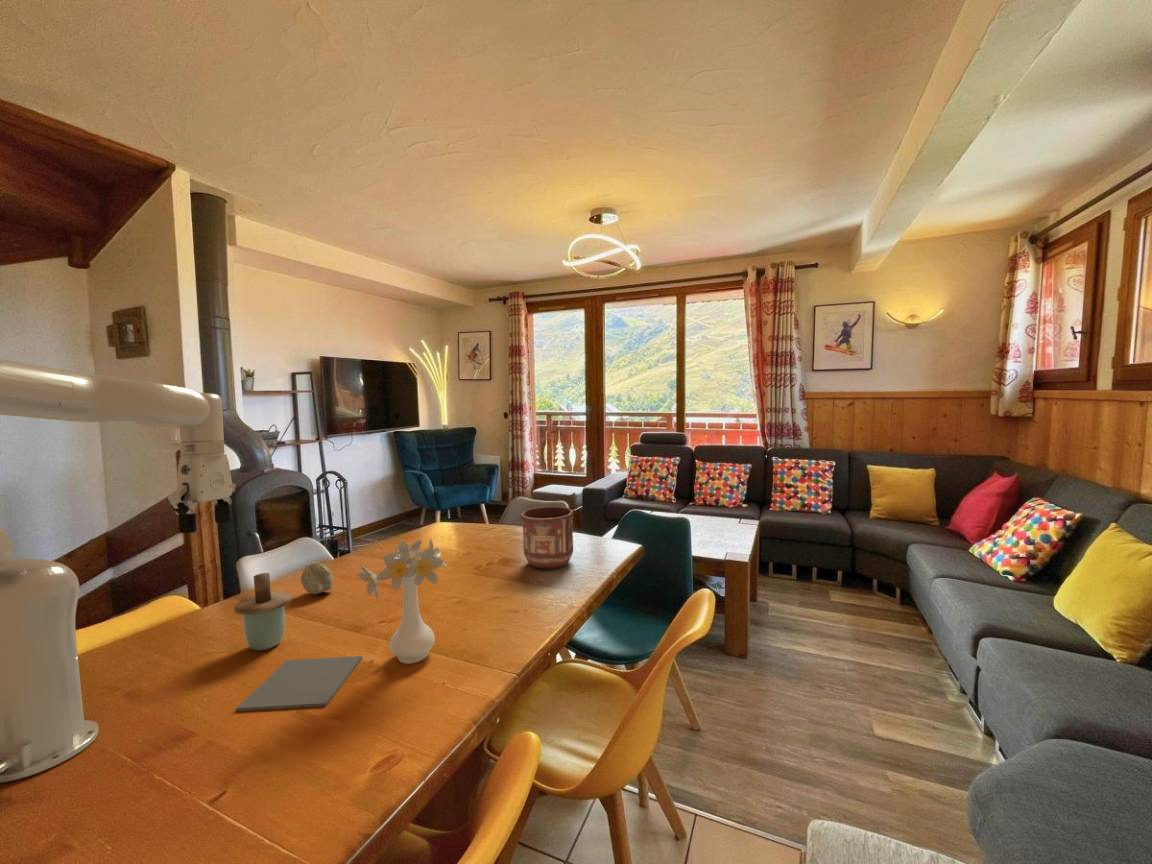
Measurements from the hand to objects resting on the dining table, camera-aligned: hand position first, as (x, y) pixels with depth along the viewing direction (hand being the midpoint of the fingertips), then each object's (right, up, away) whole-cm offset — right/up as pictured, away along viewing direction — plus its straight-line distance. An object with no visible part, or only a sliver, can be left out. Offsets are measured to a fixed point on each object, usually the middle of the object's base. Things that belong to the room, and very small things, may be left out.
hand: (206, 527), depth 103 cm
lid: (+9, -19, +5) cm, 22 cm away
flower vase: (+46, -28, -2) cm, 54 cm away
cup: (+10, -29, +6) cm, 31 cm away
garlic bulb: (+5, -27, +35) cm, 45 cm away
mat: (+27, -29, -10) cm, 41 cm away
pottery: (+72, -24, +55) cm, 94 cm away
